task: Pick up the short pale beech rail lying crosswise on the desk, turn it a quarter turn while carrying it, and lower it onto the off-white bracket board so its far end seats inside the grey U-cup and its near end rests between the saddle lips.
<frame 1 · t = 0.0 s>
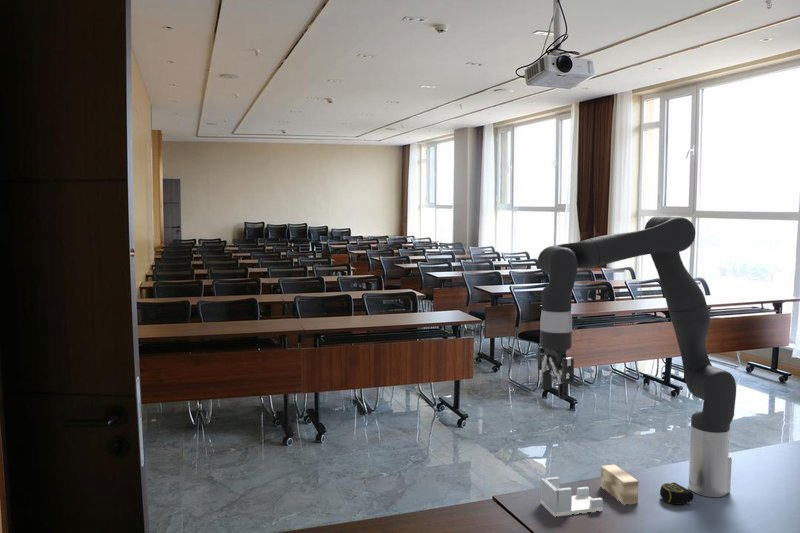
hand: (554, 393, 156), 29 cm above the table, fingers open, 8 cm apart
tape measure: (675, 501, 164), on the table
bracket board: (571, 507, 160), on the table
beech rail: (618, 495, 167), on the table
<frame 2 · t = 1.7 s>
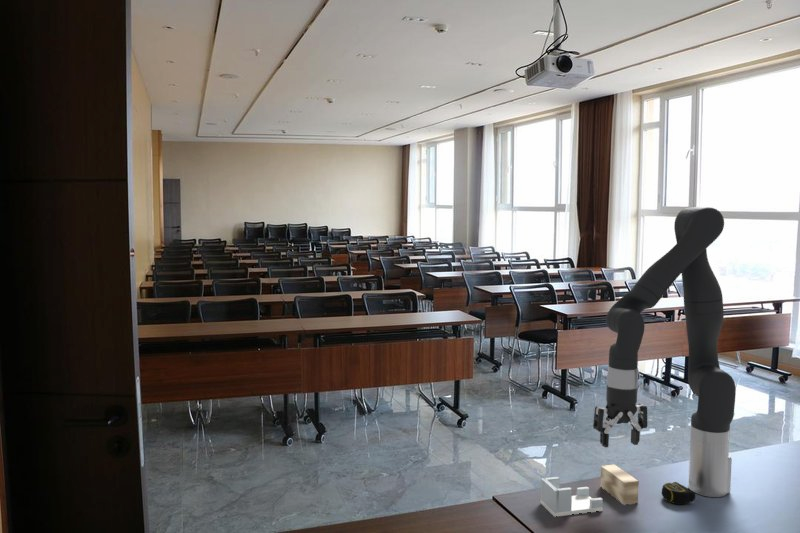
hand: (619, 445, 166), 13 cm above the table, fingers open, 8 cm apart
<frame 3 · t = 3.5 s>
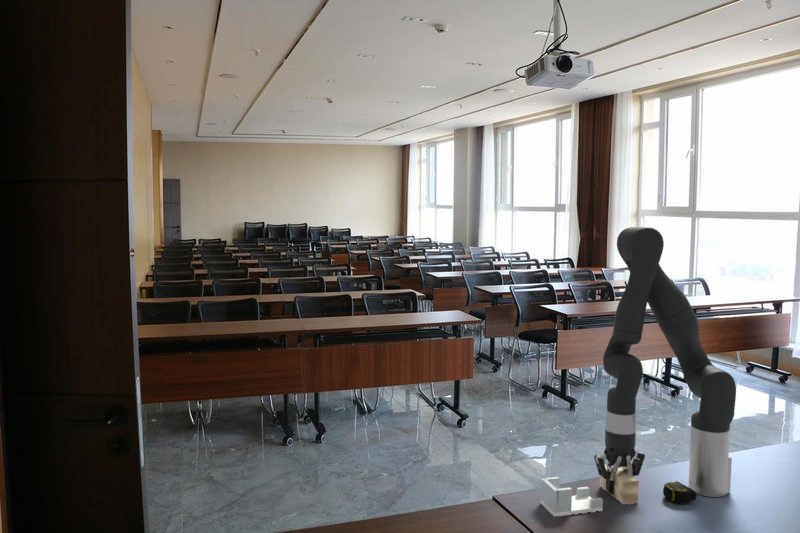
hand: (618, 491, 167), 1 cm above the table, fingers closed on beech rail, 4 cm apart
beech rail: (618, 494, 167), on the table, touching gripper
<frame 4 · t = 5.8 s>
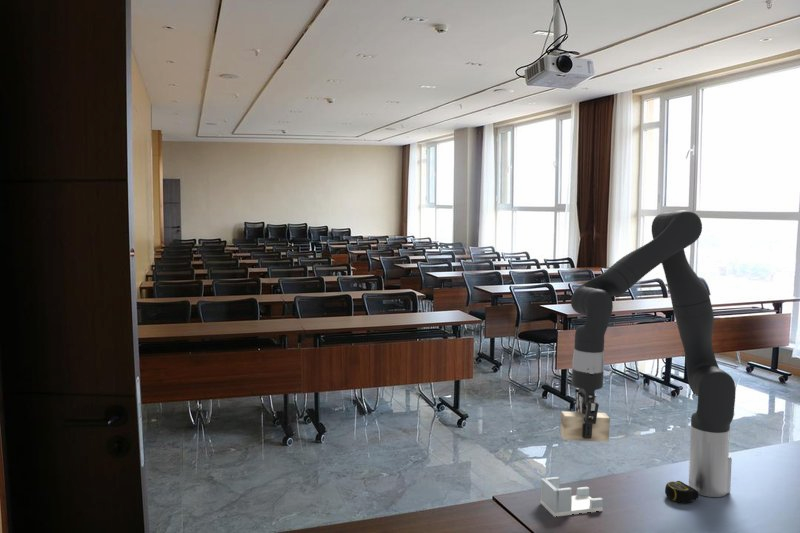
hand: (584, 434, 160), 18 cm above the table, fingers closed on beech rail, 4 cm apart
beech rail: (584, 437, 160), point 17 cm above the table, touching gripper
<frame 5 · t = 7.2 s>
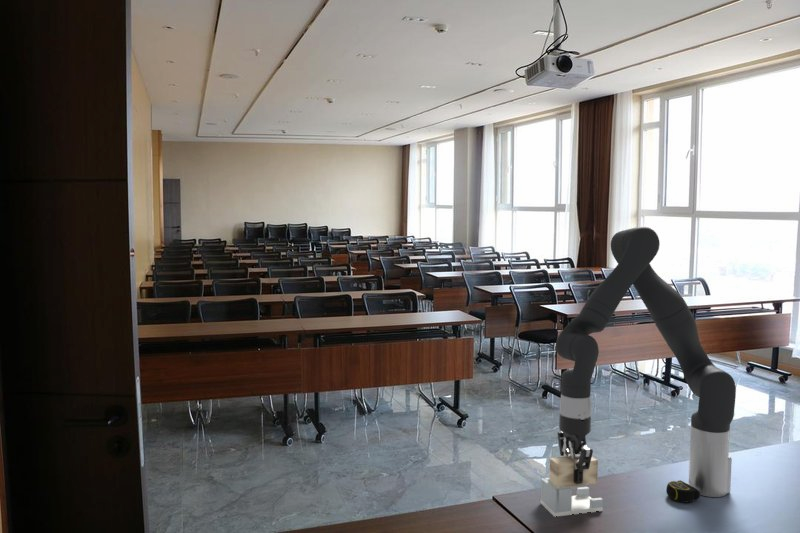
hand: (573, 479, 159), 7 cm above the table, fingers closed on beech rail, 4 cm apart
beech rail: (573, 482, 159), point 6 cm above the table, touching gripper
when the fingers open (3 cm above the table, at t = 8.4 s): beech rail drops 1 cm, resting on bracket board.
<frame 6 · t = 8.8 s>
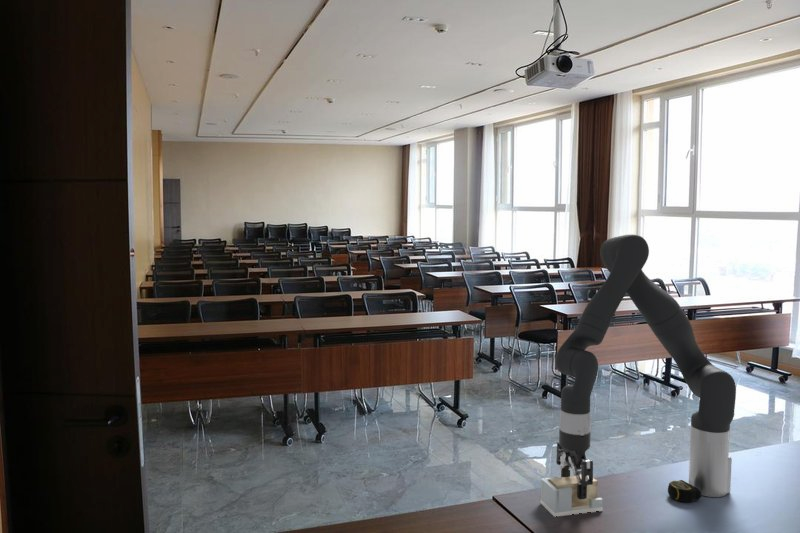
hand: (573, 491, 160), 4 cm above the table, fingers open, 8 cm apart
beech rail: (573, 503, 160), point 1 cm above the table, touching bracket board
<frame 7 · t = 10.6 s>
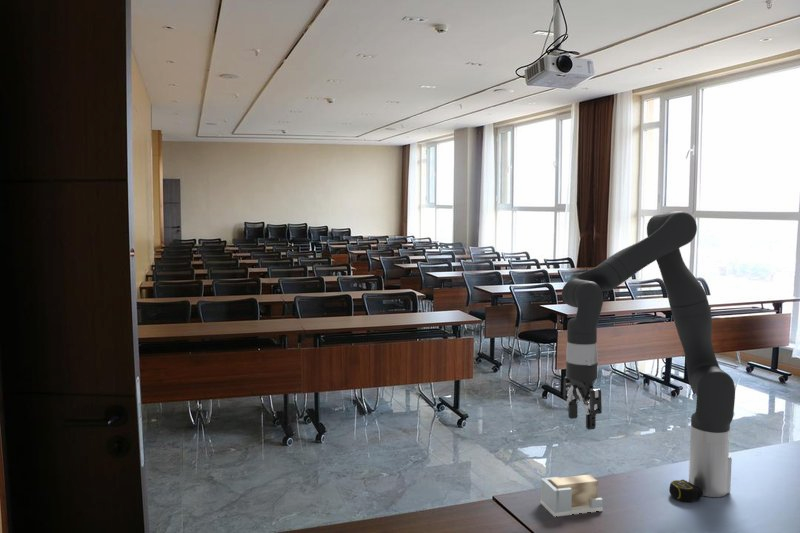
hand: (581, 423, 160), 21 cm above the table, fingers open, 8 cm apart
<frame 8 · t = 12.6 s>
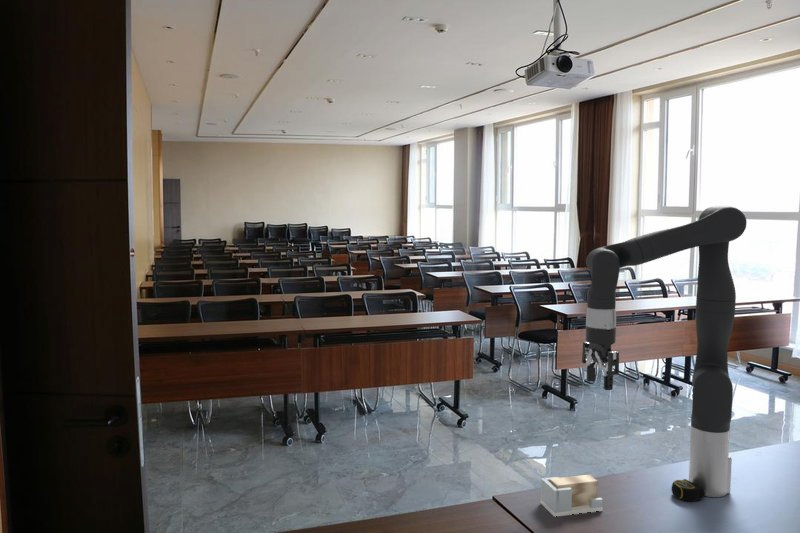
hand: (599, 385, 168), 28 cm above the table, fingers open, 8 cm apart
at the end: beech rail 0.0 cm off-centre on the bracket board, point 1.0 cm above the bracket board's base; beech rail tilted 0°; the gripper is holding nothing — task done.
